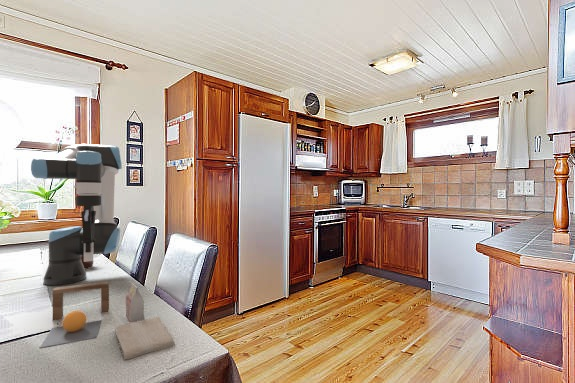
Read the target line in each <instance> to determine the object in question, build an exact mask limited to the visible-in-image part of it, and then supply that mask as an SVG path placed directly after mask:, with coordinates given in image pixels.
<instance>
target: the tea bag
mask: <svg viewBox="0 0 575 383" xmlns="http://www.w3.org/2000/svg"><path fill="white" fill-rule="evenodd" d="M125 317H126V318H127V320H128V322H139V321H143V320H145V299H144V298H143V296H142V295H141V293H140V291H139V288H138V287H137V286H136V285H135V284H134V283H131V284H130V287H129V290H128V292H127V294H126V296H125Z"/></svg>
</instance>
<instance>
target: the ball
mask: <svg viewBox="0 0 575 383" xmlns="http://www.w3.org/2000/svg"><path fill="white" fill-rule="evenodd" d="M86 322H87V315H86V314H85V312H83V311H81V310H73V311H70V312H69V313H67V314H66V315H65V316H64V317H63V319H62V323H61V326H63V328H64V329H65V330H66V331H68V332H76V331H78V330H80V329H81V328H82V327H83V326H84V325H85V323H86Z"/></svg>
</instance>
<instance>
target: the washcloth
mask: <svg viewBox="0 0 575 383" xmlns="http://www.w3.org/2000/svg"><path fill="white" fill-rule="evenodd" d="M114 331H115V335H116V337H117V339H116V342H117V344H118V346H119V351H120V354H121V357H122V360H124V361H125V360H130V359H134V358H137V357H140V356H143V355H145V354H149V353H153V352H154V353H155V352H157V351H160V350H164V349H167V348H170V347H173V346H174V345H175V341H174V337H173V336H172V335H171V333H170V332H169V330H168V329H167V326H165V325H164V323H163V322H162V319H161V318H160V316H153V317H150V318H147V319H144V320H141V321H137V322H130V321H128V322H127V323H124V324H123V323H122V324H119V325H117V326H116V327H115V330H114Z"/></svg>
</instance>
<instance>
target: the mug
mask: <svg viewBox="0 0 575 383" xmlns="http://www.w3.org/2000/svg"><path fill="white" fill-rule="evenodd" d="M81 260H82V264H83V266H84V268H86V269H89V268H88V267H91V268H92V267H93V266H94V260H93V261H87V262H84V255H82V256H81Z"/></svg>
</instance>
